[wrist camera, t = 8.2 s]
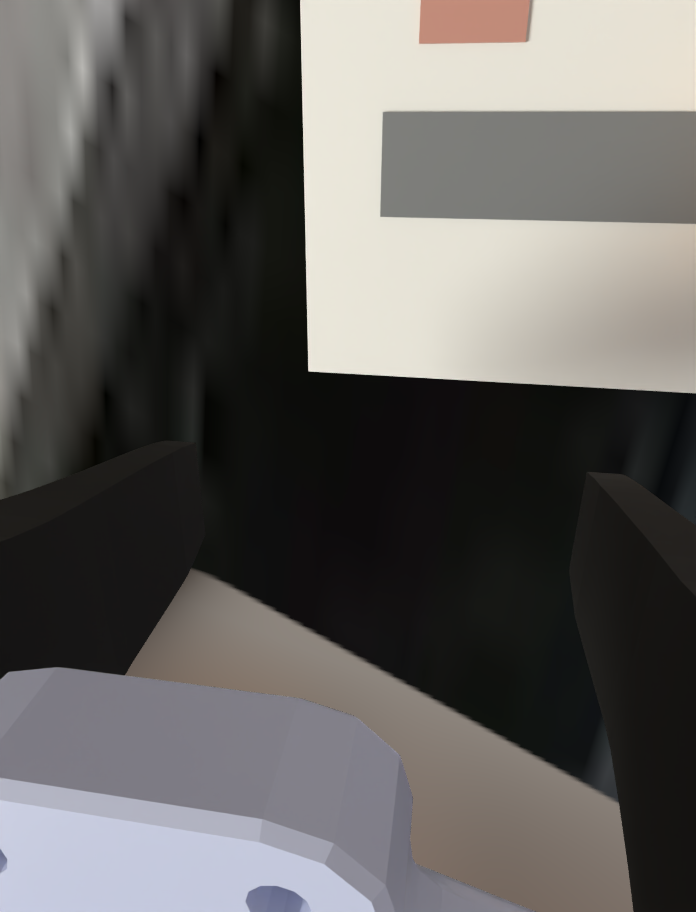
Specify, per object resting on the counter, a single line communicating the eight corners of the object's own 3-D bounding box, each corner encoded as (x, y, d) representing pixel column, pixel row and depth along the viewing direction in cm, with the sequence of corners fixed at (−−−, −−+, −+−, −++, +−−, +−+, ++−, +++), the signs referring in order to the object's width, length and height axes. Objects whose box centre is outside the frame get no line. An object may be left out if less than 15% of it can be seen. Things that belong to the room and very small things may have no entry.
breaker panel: (875, 380, 19) (920, 407, 17) (321, 351, 21) (307, 372, 19) (1058, -115, 14) (1149, -154, 12) (316, -82, 16) (296, -111, 14)
